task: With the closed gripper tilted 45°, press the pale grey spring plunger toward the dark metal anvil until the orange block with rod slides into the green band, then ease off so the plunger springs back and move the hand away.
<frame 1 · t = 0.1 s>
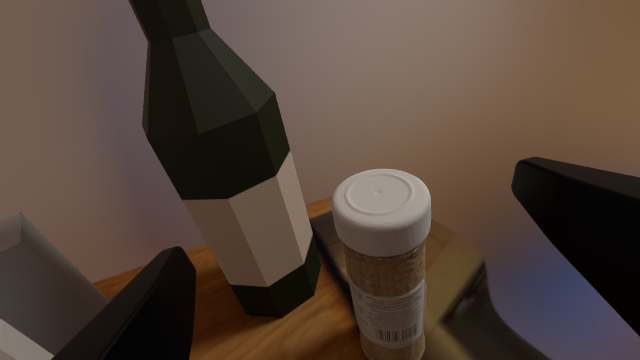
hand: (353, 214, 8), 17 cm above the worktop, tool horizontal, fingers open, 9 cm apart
sprinkles bottle: (391, 341, 21), on the worktop
wine bottle: (278, 278, 27), on the worktop
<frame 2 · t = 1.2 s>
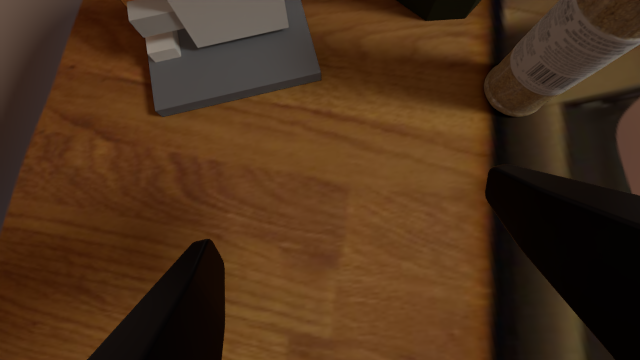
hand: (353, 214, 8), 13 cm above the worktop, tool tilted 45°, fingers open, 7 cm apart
sprinkles bottle: (508, 92, 22), on the worktop
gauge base: (246, 40, 23), on the worktop
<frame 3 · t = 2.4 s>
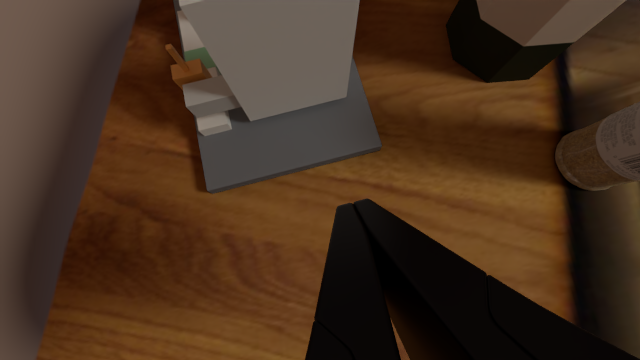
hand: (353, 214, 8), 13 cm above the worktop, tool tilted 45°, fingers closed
sprinkles bottle: (580, 161, 21), on the worktop
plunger: (259, 57, 16), point 7 cm above the worktop, slide at 0.0 cm
orange block with rod: (187, 71, 17), point 5 cm above the worktop, slide at 0.0 cm
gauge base: (297, 106, 22), on the worktop
wine bottle: (495, 39, 23), on the worktop
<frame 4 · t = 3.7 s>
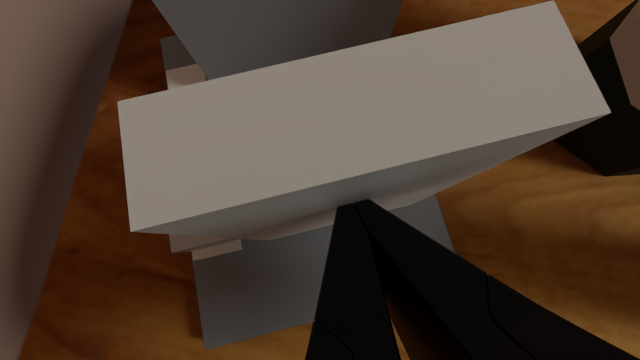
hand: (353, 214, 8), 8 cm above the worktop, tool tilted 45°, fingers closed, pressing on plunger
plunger: (295, 191, 9), point 6 cm above the worktop, slide at 0.1 cm, touching gripper
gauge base: (335, 207, 15), on the worktop
wine bottle: (611, 110, 17), on the worktop
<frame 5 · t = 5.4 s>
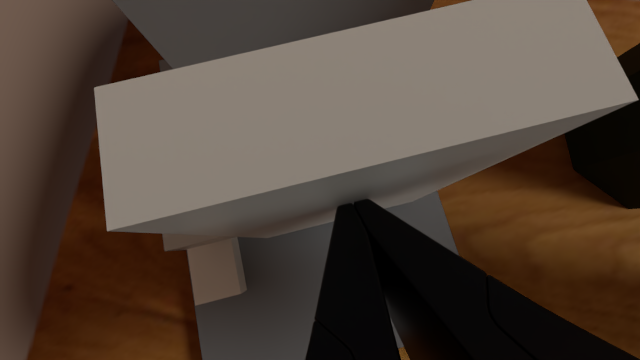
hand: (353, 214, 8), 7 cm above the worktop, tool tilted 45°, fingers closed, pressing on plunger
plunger: (292, 187, 9), point 6 cm above the worktop, slide at 2.0 cm, touching gripper
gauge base: (344, 241, 15), on the worktop
wine bottle: (633, 137, 16), on the worktop
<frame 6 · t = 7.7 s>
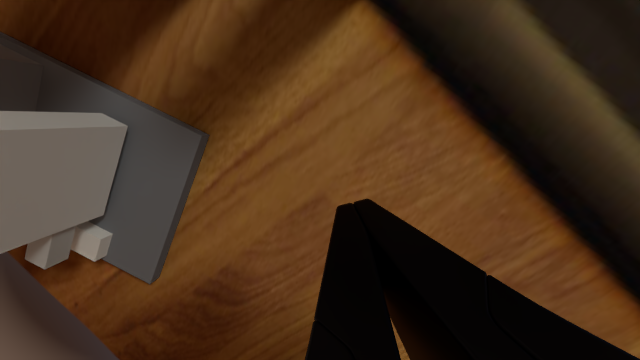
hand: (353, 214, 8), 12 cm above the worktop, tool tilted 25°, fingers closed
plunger: (14, 205, 15), point 7 cm above the worktop, slide at 0.7 cm
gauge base: (128, 167, 21), on the worktop
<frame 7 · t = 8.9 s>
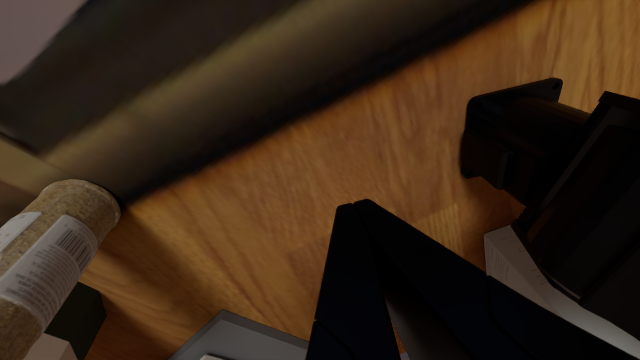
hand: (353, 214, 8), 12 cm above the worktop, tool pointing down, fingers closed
sprinkles bottle: (86, 204, 19), on the worktop
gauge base: (235, 349, 31), on the worktop
wine bottle: (50, 303, 24), on the worktop
skincare box: (507, 247, 29), on the worktop
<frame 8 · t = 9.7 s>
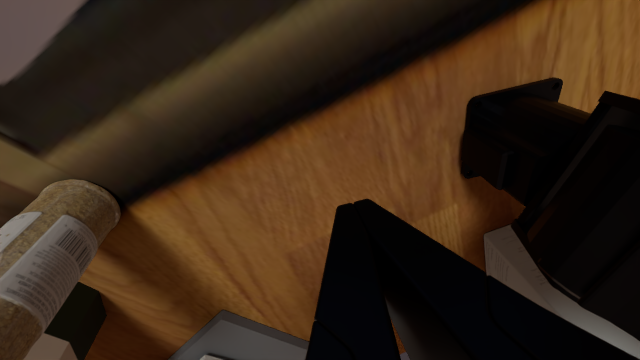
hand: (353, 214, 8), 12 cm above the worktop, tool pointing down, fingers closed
sprinkles bottle: (86, 204, 19), on the worktop
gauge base: (235, 349, 31), on the worktop
wine bottle: (50, 303, 24), on the worktop
skincare box: (507, 247, 29), on the worktop
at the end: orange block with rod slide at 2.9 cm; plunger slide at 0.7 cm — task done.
